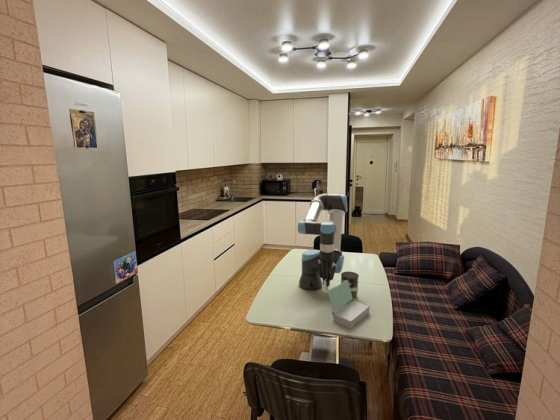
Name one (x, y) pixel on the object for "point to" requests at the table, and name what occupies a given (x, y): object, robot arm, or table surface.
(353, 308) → the white lidded box
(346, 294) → the cover
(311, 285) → the robot arm
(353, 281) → the coffee can
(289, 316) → the table surface
